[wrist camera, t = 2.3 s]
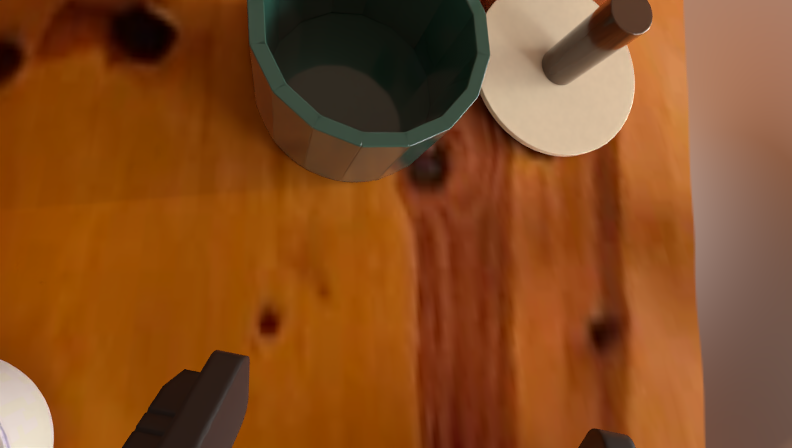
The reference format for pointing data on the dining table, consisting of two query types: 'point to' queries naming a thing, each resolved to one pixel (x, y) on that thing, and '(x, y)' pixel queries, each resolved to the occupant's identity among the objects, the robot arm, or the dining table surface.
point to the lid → (562, 70)
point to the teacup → (23, 412)
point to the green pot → (364, 78)
